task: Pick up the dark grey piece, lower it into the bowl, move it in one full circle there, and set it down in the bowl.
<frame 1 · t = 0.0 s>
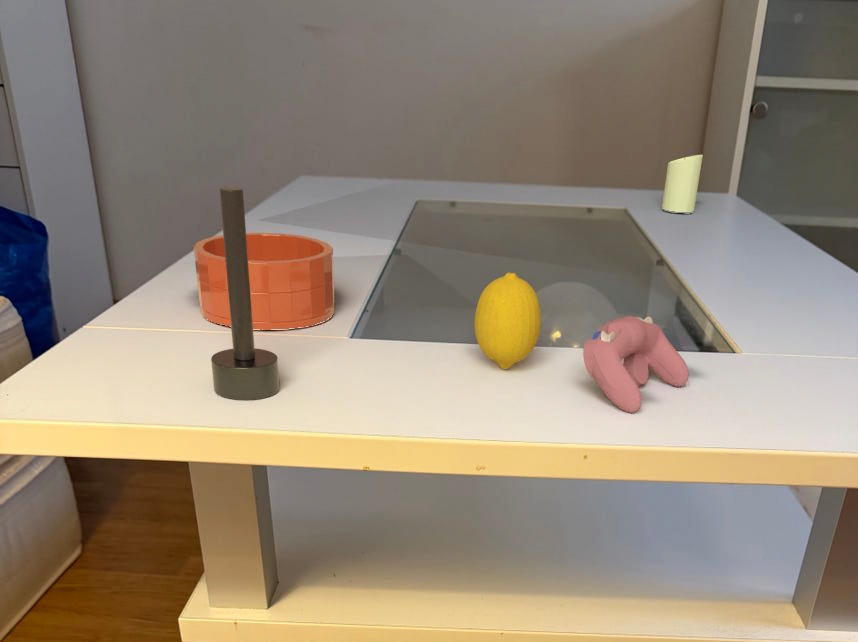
lemon: (504, 371, 84), on the table
video game controller: (631, 395, 81), on the table
candle: (677, 212, 153), on the table
bowl: (268, 312, 95), on the table
dark grey piece: (247, 389, 77), on the table
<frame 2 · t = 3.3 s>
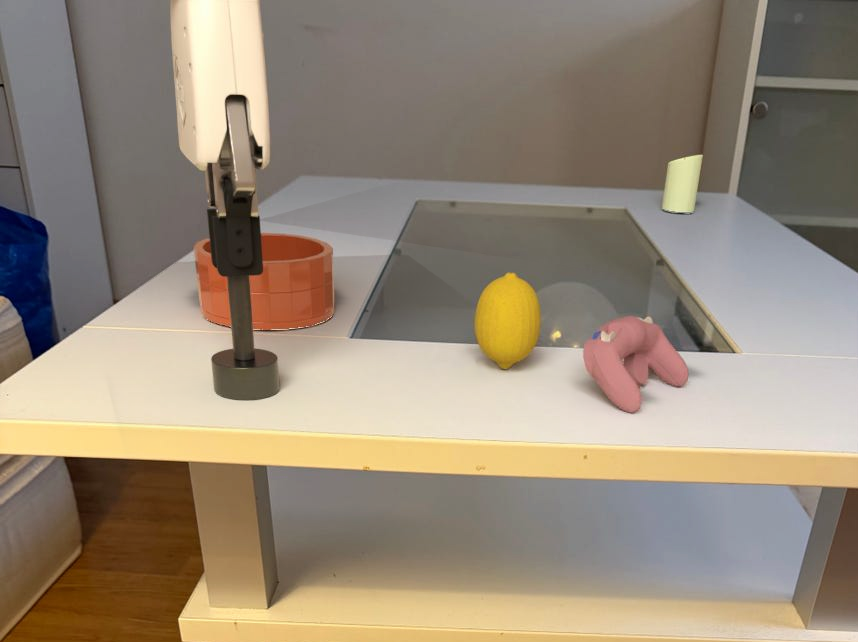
hand: (237, 269, 72), 9 cm above the table, tool pointing down, fingers closed on dark grey piece
dark grey piece: (247, 389, 77), on the table, touching gripper
everything else where it was.
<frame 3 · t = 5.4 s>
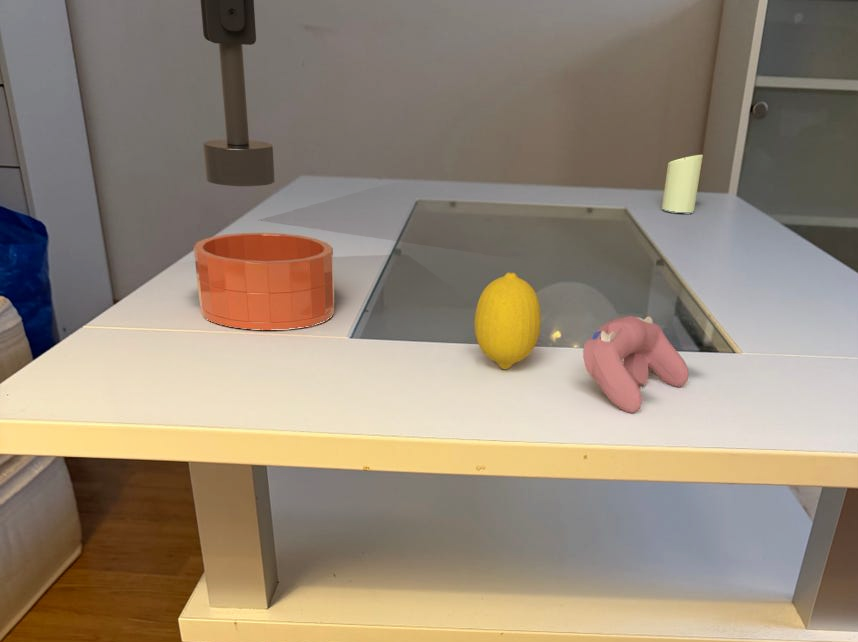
hand: (229, 40, 69), 23 cm above the table, tool pointing down, fingers closed on dark grey piece
dark grey piece: (240, 180, 74), point 14 cm above the table, touching gripper
everything else where it was.
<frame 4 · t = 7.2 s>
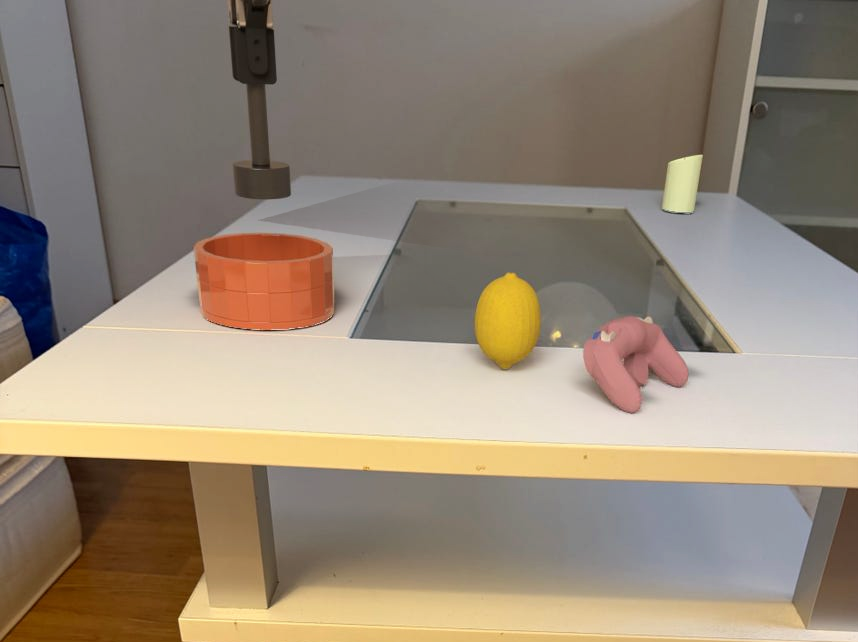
hand: (254, 80, 84), 20 cm above the table, tool pointing down, fingers closed on dark grey piece
dark grey piece: (263, 194, 89), point 11 cm above the table, touching gripper
everything else where it was.
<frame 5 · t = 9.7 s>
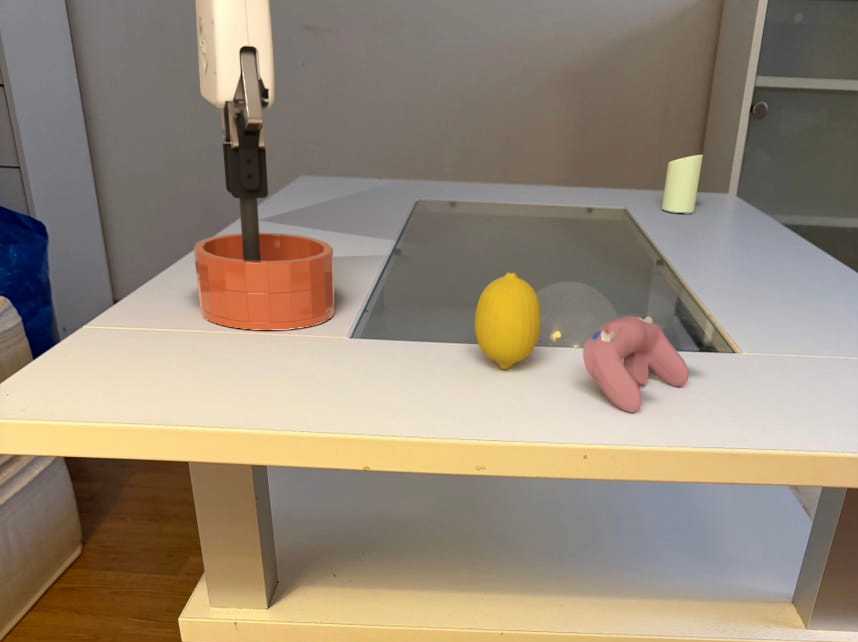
hand: (247, 193, 89), 11 cm above the table, tool pointing down, fingers closed on dark grey piece
dark grey piece: (254, 295, 94), point 2 cm above the table, touching gripper
everything else where it was.
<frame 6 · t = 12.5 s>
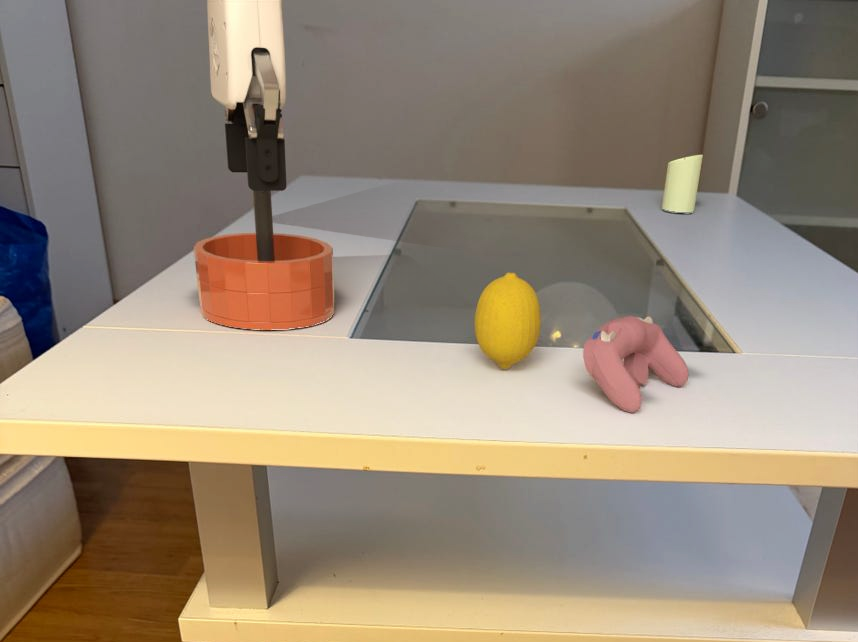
hand: (256, 180, 88), 12 cm above the table, tool pointing down, fingers open, 9 cm apart
dark grey piece: (269, 303, 95), point 1 cm above the table, touching bowl
everything else where it was.
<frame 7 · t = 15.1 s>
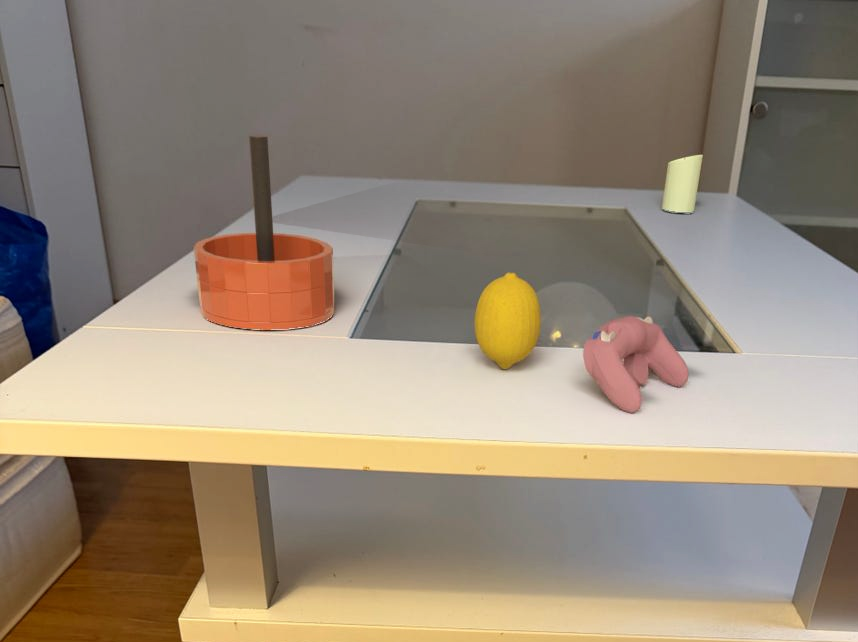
nothing on the table moved.
at the end: dark grey piece 0.1 cm off-centre in the bowl, point 0.8 cm above the bowl's base; dark grey piece tilted 0°; dark grey piece moved 21.9 cm from its start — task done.
